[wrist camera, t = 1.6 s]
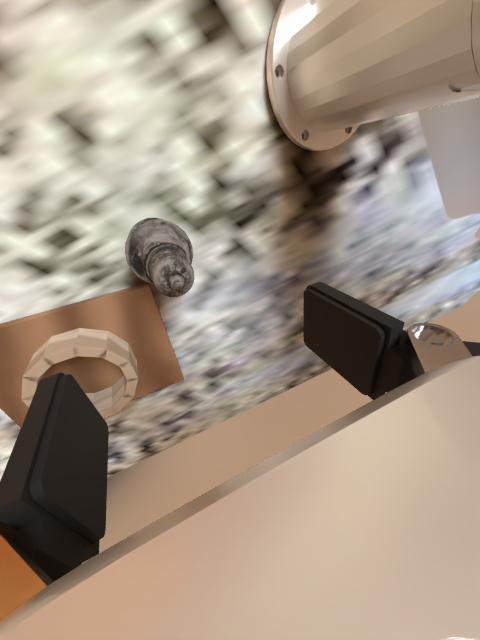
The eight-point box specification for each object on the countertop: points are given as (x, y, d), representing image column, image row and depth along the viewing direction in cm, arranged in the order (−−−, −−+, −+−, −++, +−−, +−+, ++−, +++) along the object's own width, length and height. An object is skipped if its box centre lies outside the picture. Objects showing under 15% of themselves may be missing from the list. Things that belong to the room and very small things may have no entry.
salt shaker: (195, 237, 26) (239, 270, 17) (167, 283, 27) (193, 339, 18) (142, 200, 23) (160, 216, 13) (112, 254, 24) (109, 305, 14)
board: (148, 282, 26) (152, 298, 23) (182, 374, 34) (190, 397, 30) (-59, 340, 21) (-94, 372, 18) (35, 432, 29) (24, 467, 26)
